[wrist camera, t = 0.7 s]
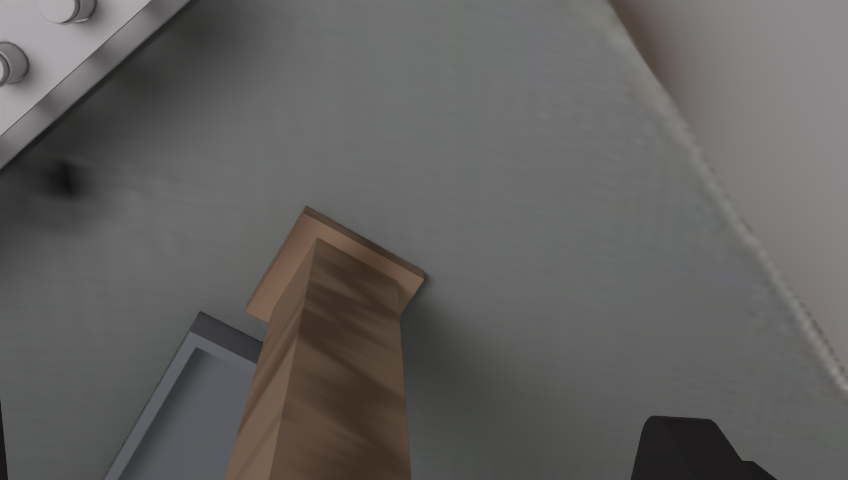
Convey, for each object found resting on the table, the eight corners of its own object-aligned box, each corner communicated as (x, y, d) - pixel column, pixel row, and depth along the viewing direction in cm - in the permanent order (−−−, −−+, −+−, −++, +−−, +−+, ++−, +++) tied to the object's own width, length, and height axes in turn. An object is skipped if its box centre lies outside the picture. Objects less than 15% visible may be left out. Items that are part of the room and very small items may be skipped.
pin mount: (214, 344, 54) (16, 835, 24) (299, 202, 51) (191, 562, 21) (340, 406, 56) (303, 925, 26) (429, 274, 53) (501, 691, 23)
